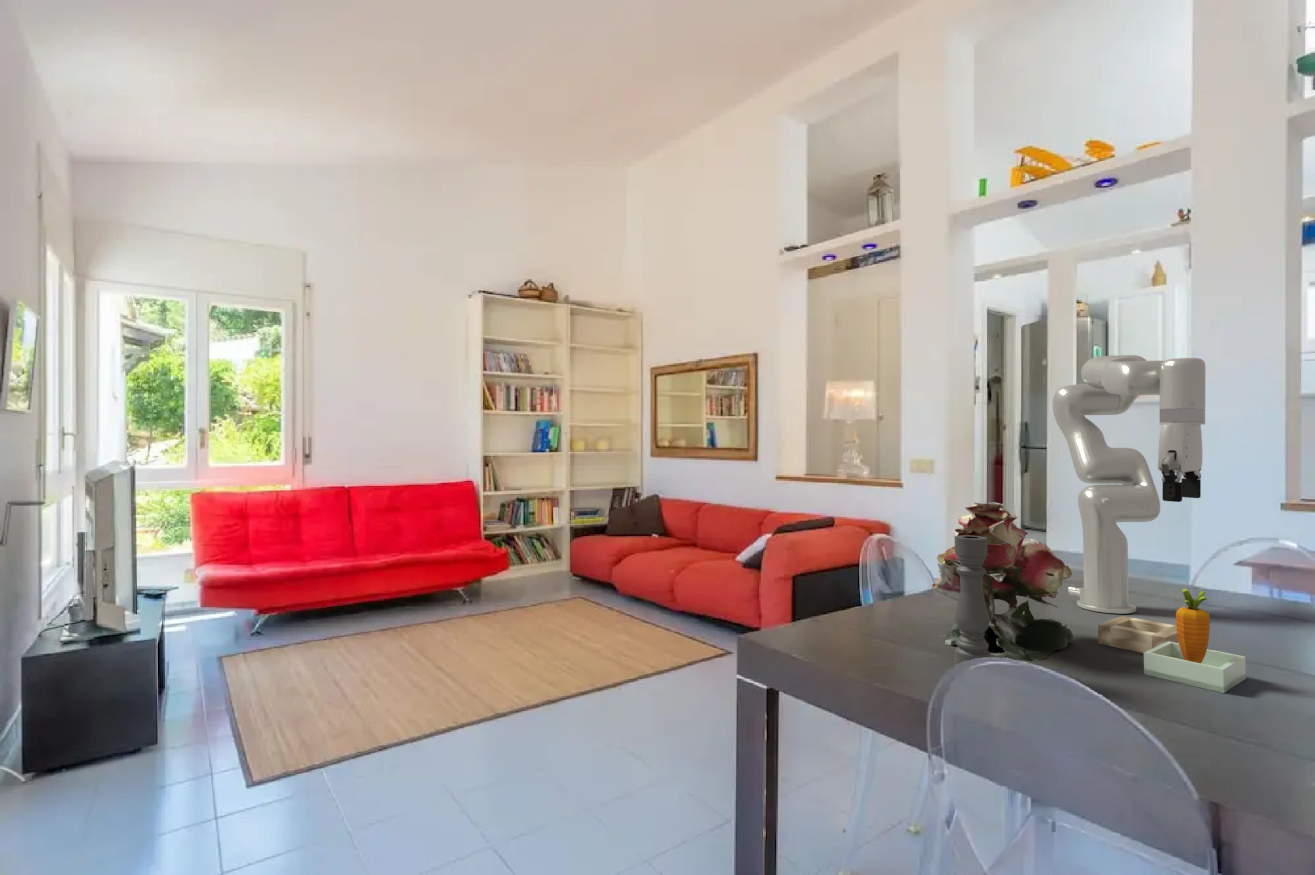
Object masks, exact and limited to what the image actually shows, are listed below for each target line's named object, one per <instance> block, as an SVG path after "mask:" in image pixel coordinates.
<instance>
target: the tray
mask: <svg viewBox="0 0 1315 875" xmlns="http://www.w3.org/2000/svg"><path fill="white" fill-rule="evenodd" d="M1246 671H1247V670H1246V656H1244V655H1240V654H1239V655H1238V654H1234V653H1230V652H1225V651H1219V650H1215V649H1208V648H1207V650H1206V654H1205V657H1204V659H1203V661H1202V663H1196V662H1191V661H1187V660H1185V659H1184V657H1183V655H1182V653H1181V649H1180V645H1179V643H1174V642H1169V641H1168V642H1166V643H1163V644H1161V645H1159V646H1157V647H1155V648H1152V649H1150V650H1148V651H1146V652H1144V653H1143V675H1146V676H1151V677H1155V678H1159V679H1163V680H1166V681H1167V680H1168V681H1170V682H1175V683H1180V684H1184V685H1188V686H1192V687H1196V688H1200V689H1205V690H1209V691H1212V692H1218V693H1222V694H1224V693H1226V692H1228V691H1229V690H1231V689H1233V688H1234V687H1235V686H1237V685H1239V684H1240V683H1241V682H1243V681H1244V680H1245V681H1246V679H1247V676H1246Z"/></svg>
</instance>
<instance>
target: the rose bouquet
mask: <svg viewBox="0 0 1315 875" xmlns="http://www.w3.org/2000/svg"><path fill="white" fill-rule="evenodd" d="M973 503H974V504H973V505H971V506H968V507H965V510H966V511H967V512H968V513H970V514H966V515H962V516H960V517H959V519H957V520H958V522H957V523H958V524H959V525H961V526H962V528H955V529H953V530H952V534H953V535H954V537H955V536H961V535H970V536H982V537H986V538H987V556H986V559H985V561H984V563H983V565H982V567H983V568H985V569H986V574H985V575H983V577H982V582H983V595H984V599H985V603H986V607H987V611H988V615H989V618H990V623H989V627H988V628H987V630H986V631H985V635H984V636H983V638H985V640H986V642H987V643H988V644H989V646H993V645H994V643H995V642H996V645H997V647H1000V648H1002V650H1003V651H1004V652H1001V653H1000V652H998V653H997V652H995V653H994V652H990V649H989V648H988V649H987V650H988V651H989V652H990V656H991V655H992V656H994V657H998V658H1000V657H1005V658H1006V657H1008V658H1011V659H1014V660H1025V661H1028V662H1030V663H1032V664H1034V663H1036V661H1037V660H1038V661H1039V662H1041V661H1044V660H1046V659H1047V658H1048V657H1049V656H1051V655H1052V656H1053V654H1052V653H1053V652H1056V651H1058V650H1063V649H1066V648H1067V647H1068V644H1069V642H1073V638H1074V634H1073V632H1072V630H1071V629H1070V628H1068V626H1067V625H1068V624H1065V625H1062V622H1061V621H1060V622H1059V621H1057V620H1055V619H1052V618H1050V619H1046V618H1037V619H1035V618H1034V614H1032V612H1031V610H1030V605H1029V599H1031V600H1033V601H1035V602H1038V604H1039V603H1040V604H1043V605H1046V606H1048V607H1049V606H1052V607H1055V608H1058V606H1057V605H1055V604H1053V603H1050V602H1047V601H1045V600H1044V599H1043V598H1047V597H1050V598H1051V599H1056V597H1057V595H1058V594H1059V593H1058V589H1059V588H1060V587H1062V586H1063V581H1064V580H1066V579H1067V580H1068V579H1069V578H1071V576H1072V575H1073V572H1072V570H1071V568H1070V567H1069V565H1066V564H1065V563H1064V562H1063V560H1061V558H1058V556H1056V555H1055V553H1053V552H1052V550H1051V548H1050V546H1048V545H1047V544H1046V543H1044V542H1042V541H1040V540H1037V539H1035V538H1026V535H1028V534H1029V532H1027V531H1026V530H1025V529H1024V528H1019V527H1018V526H1017V525H1016V524H1015V522H1014V521H1015V520H1017V519H1018V516H1017V515H1016V514H1015V513H1011V512H1010V511H1009V510H1007V509H1006V508H1004V507H1003V506H1004V504H1003V503H999V502H996V501H995V502H987V503H980V502H973ZM956 556H957V555H956V554H955V544H953V545H952V546H951V547H950V548H948V549H946V550H945V551H944V552H943V553H939V554H937V558H936V560H937V561H938V563H937V566H938V570H937V571H938V573H939V577H935V578H934V581H936V583H932V584H931V590H932V591H935V592H938V593H939V594H941V595H944V596H946V597H949V598H951V599H953V600H955V601H957V602H958V600H959V596H960V591H961V586H960V575H959V573H958V572H957V571H956V569H957V567H958V566H960V563H959V561H958V559H957V557H956ZM1017 597H1024V598H1027V599H1028V600H1026V601H1025V602H1021V603H1020V604H1019V605H1018V599H1017ZM995 600H1001V601H1003V602H1005V603H1007V604H1008V609H1007V611H1005V612H1004V613H1000V614H999V613H996V610H995V609H996V606H995ZM1017 605H1018V606H1017ZM959 631H960V629H959V628H958V627H957V625H956V623H954V624H952V625H951V629H950V631H948V632H946V633H944V634H939V635H938V636H939V637H940V638H947V637H948V638H949V637H950V638H949V639H945V640H944V645H946V646H947V645H948V646H955V645H956V646H957V644H956V641H957V639H959V637H960V635H961V633H960V632H959ZM1032 660H1036V661H1032Z"/></svg>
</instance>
